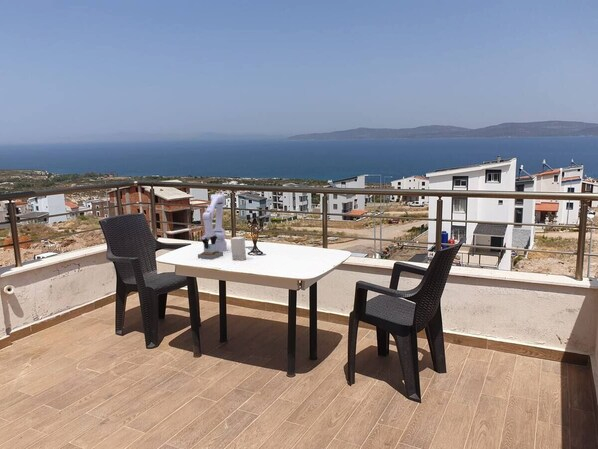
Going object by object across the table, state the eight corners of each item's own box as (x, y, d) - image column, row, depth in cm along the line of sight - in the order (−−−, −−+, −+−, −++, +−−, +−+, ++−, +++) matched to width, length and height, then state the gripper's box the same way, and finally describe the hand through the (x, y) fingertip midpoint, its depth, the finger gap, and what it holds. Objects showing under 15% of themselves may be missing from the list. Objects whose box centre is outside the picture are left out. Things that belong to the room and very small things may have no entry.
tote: (209, 255, 321) (209, 250, 321) (223, 256, 315) (222, 252, 315) (198, 259, 310) (197, 254, 310) (212, 260, 304) (211, 255, 304)
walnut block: (209, 255, 318) (209, 249, 317) (218, 256, 314) (218, 250, 314) (202, 257, 311) (202, 252, 310) (211, 258, 307) (211, 253, 307)
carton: (208, 250, 316) (208, 243, 315) (216, 251, 313) (215, 244, 312) (204, 251, 312) (203, 245, 311) (211, 252, 308) (211, 245, 308)
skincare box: (246, 258, 308) (245, 236, 306) (242, 260, 302) (241, 238, 299) (235, 257, 310) (234, 236, 308) (231, 260, 304) (230, 238, 302)
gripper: (210, 226, 318) (212, 245, 320) (197, 230, 305) (198, 249, 307) (218, 227, 314) (219, 245, 317) (205, 230, 302) (206, 249, 304)
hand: (210, 247), depth 312 cm, fingers open, 7 cm apart
